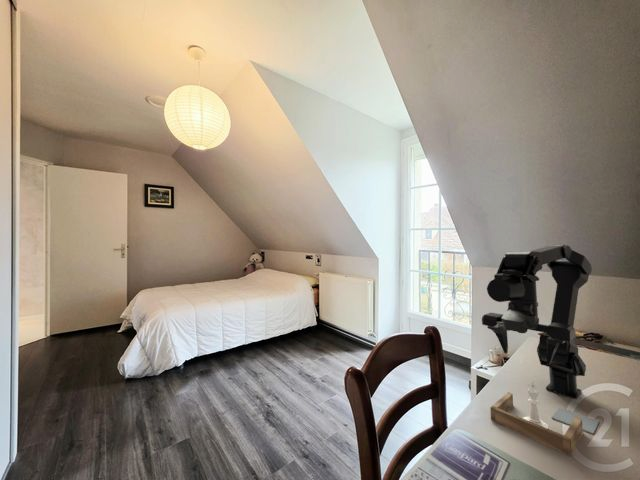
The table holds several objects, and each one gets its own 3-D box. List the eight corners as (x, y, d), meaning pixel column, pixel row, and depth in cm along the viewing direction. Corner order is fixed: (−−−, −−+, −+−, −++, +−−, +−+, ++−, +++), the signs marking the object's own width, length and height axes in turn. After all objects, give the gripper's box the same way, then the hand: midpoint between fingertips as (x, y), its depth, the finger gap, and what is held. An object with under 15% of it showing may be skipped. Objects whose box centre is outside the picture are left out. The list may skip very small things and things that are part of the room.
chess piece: (521, 416, 64) (519, 374, 64) (548, 425, 60) (546, 380, 61) (521, 427, 60) (518, 382, 60) (549, 436, 57) (546, 389, 57)
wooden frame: (508, 403, 69) (508, 392, 69) (582, 432, 58) (581, 418, 58) (491, 420, 63) (490, 407, 63) (570, 456, 51) (569, 440, 51)
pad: (559, 407, 67) (559, 406, 67) (599, 422, 61) (599, 420, 61) (551, 418, 63) (551, 417, 63) (593, 434, 57) (593, 433, 57)
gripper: (471, 297, 72) (474, 354, 71) (561, 308, 57) (565, 381, 56) (489, 293, 79) (491, 345, 78) (574, 302, 63) (578, 367, 63)
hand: (526, 358), depth 69 cm, fingers open, 9 cm apart
